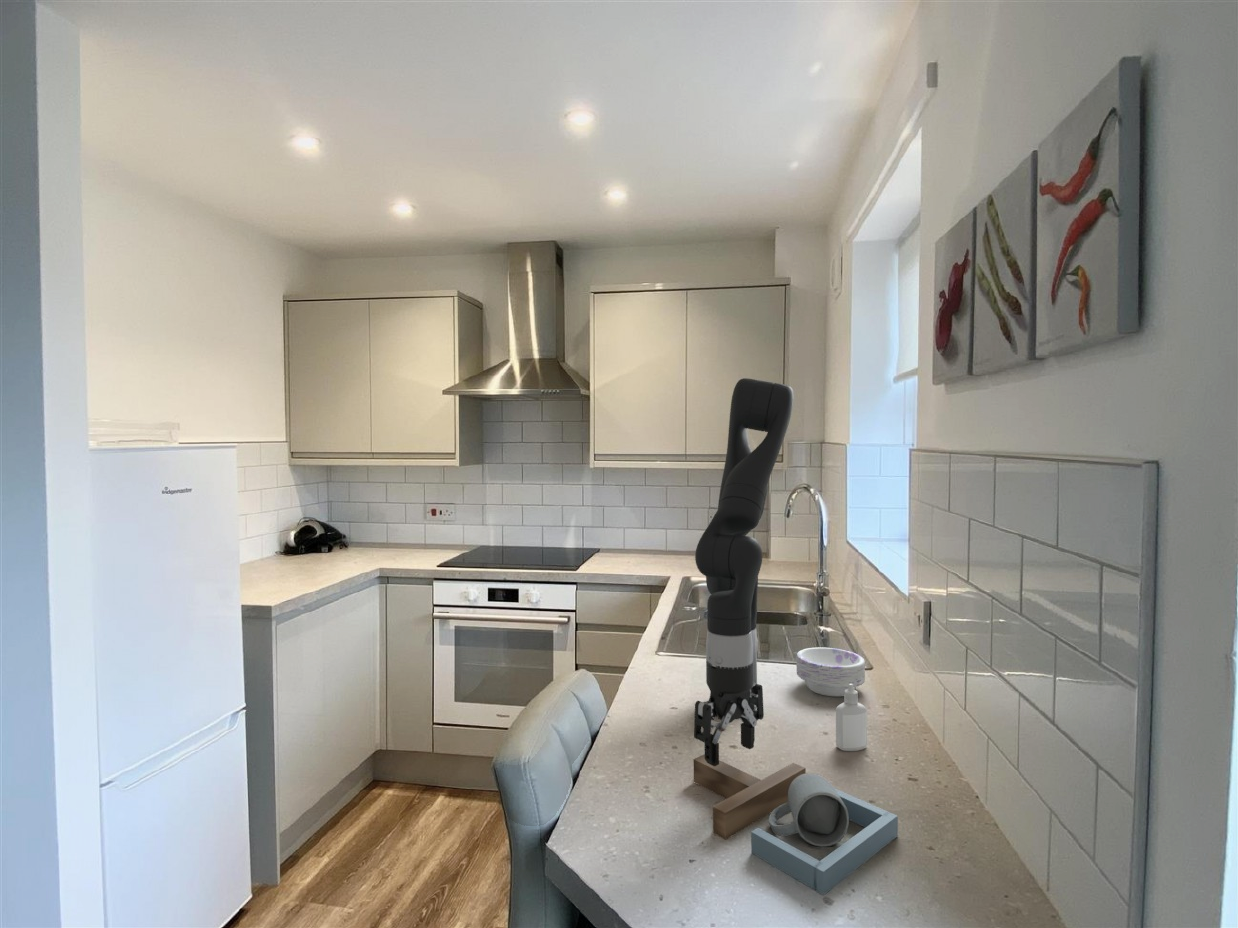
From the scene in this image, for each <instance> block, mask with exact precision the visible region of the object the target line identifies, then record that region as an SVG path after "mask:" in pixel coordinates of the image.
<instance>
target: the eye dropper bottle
mask: <svg viewBox="0 0 1238 928" xmlns="http://www.w3.org/2000/svg"><path fill="white" fill-rule="evenodd" d="M858 694H859V692H858V691H857V690H856V689H854V687H853V684H849V687H848V689H846V690H845V691H844V696H843V697H844V698H843V701H844V702H842V703H840V704H839V705H837V707H836V708H835V746H836V747H837V748H838V749H839V750H841V751H842V752H857V751H862V750H865V749H866V748H867V746H868V718H867V717H868V715H867V713H868V712H867V708H866V707H865V705H863V704H862V703H861V702H859V695H858Z"/></svg>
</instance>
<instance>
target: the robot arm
mask: <svg viewBox="0 0 1238 928" xmlns="http://www.w3.org/2000/svg"><path fill="white" fill-rule="evenodd" d="M794 399H795V396H794V389H793V388H792V387H791V386H789V385H787V384H783V383H778V382H774V381H772V382H771V381H768V380H760V379H755V378H747V377H745V378H741V379H739V380H738V381H737V382H736V384H735V385H734V388H733V393H732V396H731V401H730V402H731V403H730V408H729V409H730V411H729V420H728V422H729V423H728V434H727V435H728V437H727V445H726V446H727V448H726V456H725V461H724V462H725V463H724V467H723V468H724V469H723V474H722V476H721V477H722V478H721V485H720V490H719V495H718V496H719V497H718V504H717V505H718V506H717V511H716V512H715V514H714V515H713V516H712V519H711V520H710V522H709V523H708V525H707V526H706V529H705V530H704V532H703V533H702V534H701V537H700V539H699V541H698V543H697V545H696V549H695V552H694V553H695V554H694V555H695V556H694V558H695V559H694V560H695V565H696V567H697V570H698V571H699V572H700V574H702V576H705V583H706V588H707V591H708V592H709V594H710V595H709V596H708V598H707V605H706V606H707V609H706V610H707V613H706V615H707V631H706V634H707V635H706V640H705V642H706V643H705V661H706V662H705V666H706V667H705V668H706V672H705V673H706V674H705V678H706V680H705V681H706V684H707V687H708V689H709V691H710V694H709V698H708V700H707V701H704V702H703V701H700V700H696V702H695V703H694V722H693V723H694V724H693V726H694V727H693V737H694V739H696V740H698V741H701V742H702V743H704V754H705V760H706V762H707V763H709V764H710V765H712V766H717V765H719V760H720V746H719V745H720V743H719V740H720V738H721V735H722V733H723V732H726V730H727V728H728V725H729V724H730V723H732V722H733V721H735V720H740V721H741V722H742V723H740V745H741V746H742V747H743V748H745V749H748V750H751V749H754V746H755V731H756V730H755V727H756V726H757V723H758V721H759V720H760V721H762V720H763V719H764V717H765V716H764V715H765V712H764V696H763V695H764V694H763V690H764V689H763V685H762V684H759V683H758V660H757V659H758V658H757V657H758V656H757V655H758V652H757V650H758V649H757V648H758V647H757V646H758V645H757V644H758V643H757V616H758V590H759V574H760V570H761V567H762V563H763V550H762V548H761V547H762V546H761V545H760V543H759V542H758V540H757V539H756V538H755V537H752V536H748V534H749V533H750V532H751V531H753V530H754V529H756V528H757V527H758V525H759V522H760V520H761V518H762V516H763V514H764V509H765V504H766V498H767V494H768V483H769V481H770V478H771V475H772V473H773V470H774V467H775V464H776V461H777V459H778V456H779V455H780V451H781V448H782V445H783V443H784V440H785V436H786V433H787V430H788V427H789V426H790V425H789V424H790V422H791V417H792V412H793V408H794ZM747 429H748V430H752V431H759V432H763V433H767V434H766V435H765V437H764V438H763V440H762V441H761V442H760V443H759V444H758V445H757V446H756V448H754V449H753V450H752V448H751V446H750V442H749V437H748V432H747V431H748V430H747ZM755 708H756V709H755ZM715 718H716V719H717V720H719V722H718V721H715ZM713 728H715V729H714V731H713V733H712V730H713Z"/></svg>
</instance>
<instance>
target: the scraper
mask: <svg viewBox="0 0 1238 928" xmlns="http://www.w3.org/2000/svg"><path fill="white" fill-rule="evenodd" d="M692 761H693V783H694V782H695V784H696V783H697V785H698V784H699V785H698V786H701V787H702V788H704V789H707V790H708V791H710V792H712V793H713V794H715V795H717V796H719V797H721V798H723V799H724V800H722V801H719V802H718V803H717V804H714V805H712V832H713V834H715V835H717V836H718V837H719V838H722V839H723V840H725V841H726V840H728V839H729V838H731V837H733V836H735V835H736V834H737V833H740V832H742V831H743V830H744V829H746V828H748V827H749V826H751V825H753V824H754V823H756V822H758V821H759V820H761V819H763V818H765V817H767V815H770V814H771V813H772V811H773V810H774V809H776V808H777V807H779V806H780V805H783V804H785V803H787V802H788V790H789V787H790V784H791V783H792V781H793V780H794V779H795V778H796V777H798V776H799V775H801V774H805V773H807V772H806V771H807V770H806V767H805V766H802V765H799V764H797V763H794V762H791V763H790V764H788V765H786V766H785V767H783V768H780V769H779V770H777V771H775V772H774V773H772V774H770V775H768V776H766V777H763V779H760V778H758V777H756V776H753V775H752V774H749V773H747V772H746V771H743V770H740V769H739V768H737V767H735V766H733V765H731V764H728V763H726V762H724V761H722V760H720V759H719V765H717V766H712V765H710V764H709V763H707V762H706V760H705V753H704V754H702V755H699V756H697V757H695V758H693V760H692Z"/></svg>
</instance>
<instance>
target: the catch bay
mask: <svg viewBox="0 0 1238 928" xmlns="http://www.w3.org/2000/svg"><path fill="white" fill-rule="evenodd" d="M833 788H834V789H835V791H836V792H837V794H838V795H839V797H840V798H841V800H842V801H843V803H844V804H845V806H846V808H847V810H848V814H849V821H851V822H852V823H855V824H858V826H862V827H864V828H862V830H861V831H859V832H858V833H856V834H854V836H852V837H851V838H850V839H848V840H847V841H845V842H844V843H843V844H841V845H840V846H838V847H837V848H836V849H835V850H833V851H831V853H829V854H828V855H826V856H824V857H823V858H822V859H820V860H819V859H817V858H814V857H813V856H811V855H810V854H807V853H806V852H804V851H801V850H800V849H798V848H796V847H794V846H793V845H791V844H789V843H788V842H786V841H783V840H781V839H780V838H778V837H776V836H774V835H772V834H770V833H769V832H767V831H764V829H761V828H759V827H756V828H755V829H754V830H751V832H750V837H751V838H750V840H751V843H750V844H751V848H750V849H751V854H752V855H754V856H756V857H758V858H760V859H762V860H763V861H765V862H766V863H768V864H770V865H772V866H773V867H775V868H777V869H778V870H780V871H781V872H784V873H785V874H786V875H789V876H790V877H791V878H794V879H795V880H797V881H799V882H800V883H802V884H804V885H806V886H807V887H809V888H811V889H812V890H814V891H816V892H818V893H819V894H821V895H823V896H824V895H826V894H827V893H828V892H829V891H831V890H832V889H833V888H834V887H835V886H837V885H838V884H840V883H841V882H842V881H843V880H844V879H846V878H847V877H848V876H850V875H851V874H852V873H854V871H856V870H857V869H858V868H859V867H861V866H862V865H863V864H865V863H866V862H867V861H868V860H870V859H871V858H872V857H873V856H874V855H876V854H877V853H879V851H881V850H882V849H884V847H886V846H887V845H888V844H890V843H891V842H893V841H894V840H895V839H896V838H897V837H898V836H899V835H898V833H899V832H898V831H899V828H898V827H899V823H898V815H897V814H894V813H892V812H890V811H888V810H885V809H883V808H881V807H878V806H876V805H874V804H872V803H869V802H866V801H865V800H863V799H859V798H857V797H855V796H853V795H851V794H848V793H846V792H844V791H842V790H839V789H837V788H836V787H833Z"/></svg>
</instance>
